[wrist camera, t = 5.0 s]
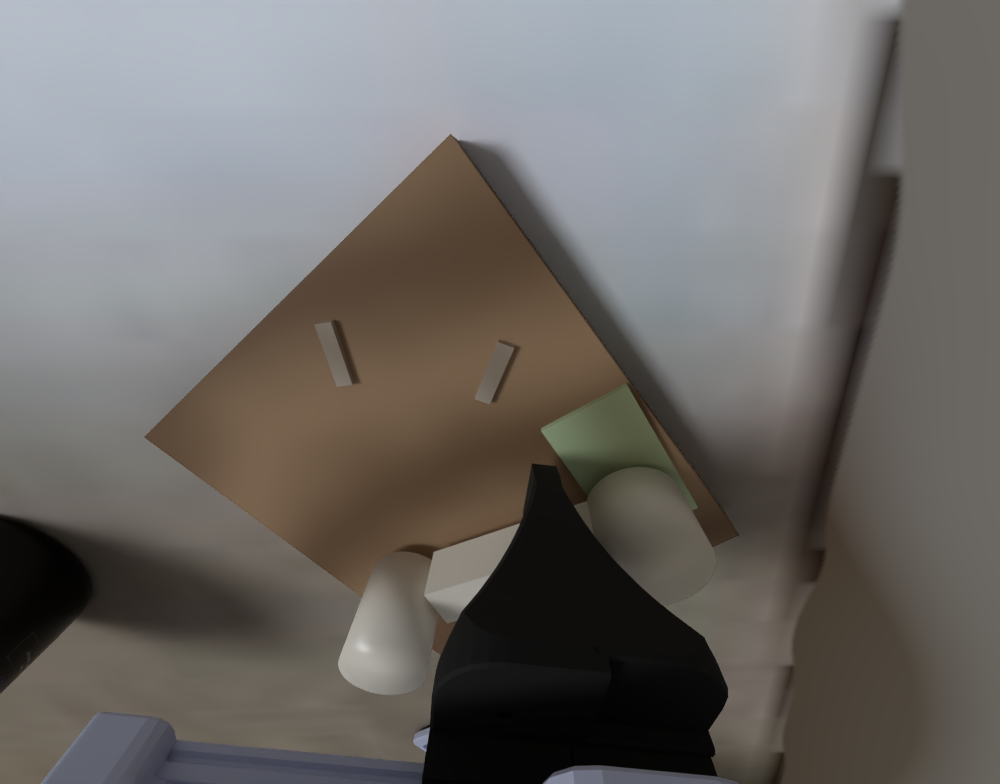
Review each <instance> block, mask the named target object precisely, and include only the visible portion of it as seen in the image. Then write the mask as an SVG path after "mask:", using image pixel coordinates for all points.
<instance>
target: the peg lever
mask: <svg viewBox="0 0 1000 784" xmlns="http://www.w3.org/2000/svg"><path fill="white" fill-rule="evenodd" d="M574 507H575V508H576V510H577V512H578V513H579V515H580V516H581V518H582V519H583V521H584V522H585V524H586V525H587V526H588V528H589V529H590V530H591V532H592V533H593V535H594V536H595V537H596V538H597V540H598V541H599V542H600V544H601V545H602V546H603V547H604V548H605V550H606V551H607V552H608V553H609V554H610V556H611V557H612V558H613V559H614V560H615V561H616V562H617V563H618V564H619V565H620V567H621V568H622V569H623V570H624V571H626V572H627V573H628V574H629V575H630V576H631V577H632V578H633V579H634V580H635V581H636V582H637V583H638V584H639V585H640V586H641V587H642V588H643V589H644V590H645V591H646V592H647V593H649V594H650V595H651V596H652V597H653V598H654V599H656V600H657V601H658V602H659V603H660V604H661V605H668V604H672V603H676V602H679V601H681V600H684V599H686V598H688V597H690V596H692V595H694V594H695V593H697V592H698V591H700V590H701V589H702V588H703V587H704V586H705V585H706V584H707V583H708V582H709V580H710V579H711V577H712V576H713V574H714V571H715V568H716V555H715V552H714V550H713V548H712V546H711V544H710V542H709V540H708V538H707V537H706V535H705V533H704V531H703V529H702V528H701V526H700V524H699V522H698V520H697V518H696V517H695V515H694V513H693V511H692V509H691V508H690V506H689V504H688V502H687V500H686V498H685V497H684V495H683V493H682V491H681V489H680V488H679V486H678V484H677V483H676V481H675V480H674V479H673V478H672V477H670V476H669V475H668V474H666V473H664V472H662V471H660V470H657V469H653V468H648V467H630V468H625V469H621V470H618V471H615V472H613V473H611V474H609V475H607V476H606V477H604V478H603V479H601V480H600V481H599V482H598V483H597V484H596V485H595V486H594V487H593V488H592V490H591V491H590V493H589V495H588V498H587V501H586V502H583V503H580V504H577V505H574ZM519 525H520V523H519V524H516V525H513V526H510V527H507V528H504V529H501V530H498V531H495V532H492V533H489V534H486V535H483V536H480V537H477V538H474V539H471V540H468V541H465V542H462V543H459V544H456V545H453V546H450V547H447V548H444V549H441V550H438V551H435V552H433V557H432V560H431V559H429V558H427V557H425V556H423V555H420V554H417V553H413V552H394V553H390V554H387V555H385V556H383V557H381V558H380V559H379V560H378V561H377V562H376V563H375V565H374V567H373V570H372V572H371V575H370V578H369V580H368V583H367V586H366V588H365V591H364V594H363V596H362V599H361V602H360V604H359V607H358V610H357V612H356V615H355V618H354V620H353V623H352V626H351V628H350V631H349V634H348V636H347V639H346V642H345V644H344V647H343V650H342V652H341V655H340V658H339V661H338V667H339V670H340V672H341V674H342V675H343V677H344V678H345V679H346V680H347V681H349V682H350V683H351V684H353V685H354V686H356V687H358V688H360V689H363V690H365V691H368V692H372V693H376V694H383V695H399V694H405V693H409V692H412V691H414V690H416V689H418V688H419V687H421V686H422V685H423V684H424V682H425V681H426V678H427V674H428V668H429V663H430V657H431V652H432V646H433V641H434V635H435V630H436V624H437V618H438V613H439V614H440V615H441V617H442V618H443V619H444V620H445V622H446V623H451V622H454V621H457V620H458V618H459V616H460V614H461V612H462V610H463V609H464V608H465V607H466V606H467V605H468V603H469V602H470V601H471V600H472V599H473V598H474V596H475V595H476V594H477V593H478V592H479V590H480V589H481V588H482V586H483V585H484V584H485V582H486V581H487V579H488V578H489V577H490V575H491V574H492V572H493V571H494V570H495V568H496V567H497V565H498V564H499V562H500V560H501V559H502V557H503V555H504V554H505V552H506V550H507V549H508V547H509V545H510V543H511V541H512V539H513V537H514V535H515V533H516V531H517V529H518V527H519Z"/></svg>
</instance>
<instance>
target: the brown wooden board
mask: <svg viewBox="0 0 1000 784" xmlns="http://www.w3.org/2000/svg"><path fill="white" fill-rule="evenodd" d="M145 438H146V439H147V440H149V441H150V442H151V443H153V444H154V445H156V446H157V447H158V448H160V449H161V450H162V451H164V452H165V453H166V454H168V455H169V456H171V457H172V458H173V459H175V460H176V461H177V462H179V463H180V464H181V465H183V466H184V467H185V468H187V469H188V470H190V471H191V472H192V473H194V474H195V475H196V476H198V477H199V478H200V479H202V480H203V481H205V482H206V483H207V484H209V485H210V486H211V487H213V488H214V489H215V490H217V491H218V492H220V493H221V494H222V495H224V496H225V497H226V498H228V499H229V500H230V501H232V502H233V503H234V504H236V505H237V506H239V507H240V508H241V509H243V510H244V511H245V512H247V513H248V514H249V515H251V516H252V517H254V518H255V519H256V520H258V521H259V522H260V523H262V524H263V525H264V526H266V527H267V528H268V529H270V530H271V531H273V532H274V533H275V534H277V535H278V536H279V537H281V538H282V539H283V540H285V541H286V542H288V543H289V544H290V545H292V546H293V547H294V548H296V549H297V550H298V551H300V552H301V553H302V554H304V555H305V556H307V557H308V558H309V559H311V560H312V561H313V562H315V563H316V564H317V565H319V566H320V567H322V568H323V569H324V570H326V571H327V572H328V573H330V574H331V575H332V576H334V577H335V578H336V579H338V580H339V581H341V582H342V583H343V584H345V585H346V586H347V587H349V588H350V589H351V590H353V591H354V592H356V593H357V594H358V595H360V596H361V597H362V596H363V594H364V591H365V588H366V586H367V583H368V580H369V578H370V575H371V572H372V570H373V567H374V565H375V563H376V562H377V561H378V560H379V559H380V558H381V557H383V556H385V555H387V554H390V553H394V552H413V553H417V554H420V555H423V556H425V557H427V558H429V559H431V560H432V557H433V552H435V551H438V550H441V549H444V548H447V547H450V546H453V545H456V544H459V543H462V542H465V541H468V540H471V539H474V538H477V537H480V536H483V535H486V534H489V533H492V532H495V531H498V530H501V529H504V528H507V527H510V526H513V525H516V524H519V523H521V520H522V518H523V509H524V504H525V498H526V493H527V487H528V482H529V476H530V471H531V465H532V463H533V464H542V465H551V466H556V467H557V469H558V472H559V475H560V478H561V484H562V487H563V488H564V490H565V492H566V494H567V495H568V497H569V499H570V500H571V502H572V504H573V505H577V504H580V503H583V502H586V501H587V498H588V495H589V493H590V491H591V490H592V488H593V487H594V486H595V485H596V484H597V483H598V482H599V481H600V480H601V479H603V478H604V477H606V476H607V475H609V474H611V473H613V472H615V471H618V470H621V469H625V468H630V467H648V468H653V469H657V470H660V471H662V472H664V473H666V474H668V475H669V476H670V477H672V478H673V479H674V480H675V481H676V483H677V484H678V486H679V488H680V489H681V491H682V493H683V495H684V497H685V498H686V500H687V502H688V504H689V506H690V508H691V509H692V511H693V513H694V515H695V517H696V518H697V520H698V522H699V524H700V526H701V528H702V529H703V531H704V533H705V535H706V537H707V538H708V540H709V542H710V544H711V546H712V547H714V546H716V545H718V544H720V543H723V542H725V541H727V540H729V539H731V538H734V537H736V536H738V535H739V534H738V532H737V531H736V529H735V528H734V526H733V525H732V523H731V521H730V520H729V518H728V517H727V515H726V514H725V512H724V511H723V509H722V508H721V507H720V505H719V504H718V502H717V501H716V500H715V498H714V497H713V495H712V494H711V493H710V491H709V490H708V488H707V487H706V486H705V484H704V483H703V482H702V480H701V479H700V477H699V476H698V475H697V473H696V472H695V470H694V469H693V468H692V466H691V465H690V463H689V462H688V461H687V459H686V458H685V456H684V455H683V454H682V452H681V451H680V449H679V448H678V447H677V445H676V444H675V443H674V441H673V440H672V438H671V437H670V436H669V434H668V433H667V431H666V430H665V429H664V427H663V426H662V424H661V423H660V422H659V420H658V419H657V417H656V416H655V415H654V413H653V412H652V410H651V409H650V408H649V406H648V405H647V404H646V402H645V401H644V399H643V398H642V397H641V395H640V394H639V392H638V391H637V390H636V388H635V387H634V385H633V384H632V383H631V381H630V380H629V378H628V377H627V376H626V374H625V373H624V371H623V370H622V369H621V367H620V366H619V365H618V363H617V362H616V360H615V359H614V358H613V356H612V355H611V353H610V352H609V351H608V349H607V348H606V346H605V345H604V344H603V342H602V341H601V339H600V338H599V337H598V335H597V334H596V332H595V331H594V330H593V328H592V327H591V326H590V324H589V323H588V321H587V320H586V319H585V317H584V316H583V314H582V313H581V312H580V310H579V309H578V307H577V306H576V305H575V303H574V302H573V300H572V299H571V298H570V296H569V295H568V293H567V292H566V291H565V289H564V288H563V287H562V285H561V284H560V282H559V281H558V280H557V278H556V277H555V275H554V274H553V273H552V271H551V270H550V268H549V267H548V266H547V264H546V263H545V261H544V260H543V259H542V257H541V256H540V254H539V253H538V252H537V250H536V249H535V248H534V246H533V245H532V243H531V242H530V241H529V239H528V238H527V236H526V235H525V234H524V232H523V231H522V229H521V228H520V227H519V225H518V224H517V222H516V221H515V220H514V218H513V217H512V215H511V214H510V213H509V211H508V210H507V209H506V207H505V206H504V204H503V203H502V202H501V200H500V199H499V197H498V196H497V195H496V193H495V192H494V190H493V189H492V188H491V186H490V185H489V183H488V182H487V181H486V179H485V178H484V176H483V175H482V174H481V172H480V171H479V170H478V168H477V167H476V165H475V164H474V163H473V161H472V160H471V158H470V157H469V156H468V154H467V153H466V151H465V150H464V149H463V147H462V146H461V144H460V143H459V142H458V140H457V139H456V138H455V137H453V136H452V135H451V134H450V135H449V136H448V137H447V138H446V139H445V140H444V141H443V142H442V143H441V144H440V145H439V146H438V147H437V148H436V149H435V150H434V151H433V152H432V153H431V154H430V155H429V156H428V157H427V158H426V159H425V160H424V161H423V162H422V163H421V164H420V165H419V166H418V167H417V168H416V169H415V170H414V171H413V172H412V173H411V174H410V175H409V176H408V177H407V178H406V179H405V180H404V181H403V182H402V183H401V184H400V185H398V186H397V187H396V188H395V189H394V190H393V191H392V192H391V193H390V194H389V195H388V196H387V197H386V198H385V199H384V200H383V201H382V202H381V203H380V204H379V205H378V206H377V207H376V208H375V209H374V210H373V211H372V212H371V213H370V214H369V215H368V216H367V217H366V218H365V219H364V220H363V221H362V222H361V223H360V224H359V225H358V226H357V227H356V228H355V229H354V230H353V231H352V232H351V233H350V234H349V235H348V236H347V237H346V238H345V239H344V240H343V241H342V242H341V243H340V244H339V245H338V246H337V247H336V248H335V249H334V250H333V251H332V252H331V253H330V254H329V255H328V256H327V257H326V258H325V259H324V260H323V261H322V262H321V263H320V264H319V265H318V266H317V267H316V268H315V269H314V270H313V271H312V272H311V273H310V274H309V275H307V276H306V277H305V278H304V279H303V280H302V281H301V282H300V283H299V284H298V285H297V286H296V287H295V288H294V289H293V290H292V291H291V292H290V293H289V294H288V295H287V296H286V297H285V298H284V299H283V300H282V301H281V302H280V303H279V304H278V305H277V306H276V307H275V308H274V309H273V310H272V311H271V312H270V313H269V314H268V315H267V316H266V317H265V318H264V319H263V320H262V321H261V322H260V323H259V324H258V325H257V326H256V327H255V328H254V329H253V330H252V331H251V332H250V333H249V334H248V335H247V336H246V337H245V338H244V339H243V340H242V341H241V342H240V343H239V344H238V345H237V346H236V347H235V348H234V349H233V350H232V351H231V352H230V353H229V354H228V355H227V356H226V357H225V358H224V359H223V360H222V361H221V362H220V363H219V364H218V365H217V366H215V367H214V368H213V369H212V370H211V371H210V372H209V373H208V374H207V375H206V376H205V377H204V378H203V379H202V380H201V381H200V382H199V383H198V384H197V385H196V386H195V387H194V388H193V389H192V390H191V391H190V392H189V393H188V394H187V395H186V396H185V397H184V398H183V399H182V400H181V401H180V402H179V403H178V404H177V405H176V406H175V407H174V408H173V409H172V410H171V411H170V412H169V413H168V414H167V415H166V416H165V417H164V418H163V419H162V420H161V421H160V422H159V423H158V424H157V425H156V426H155V427H154V428H153V429H152V430H151V431H150V432H149V433H148V434H147V435H146V436H145ZM456 622H457V621H454V622H451V623H446V622H445V620H444V619H443V618H442V617H441V615H440V614H439V613H438V618H437V624H436V630H435V635H434V641H433V646H432V649H433V650H434V651H436V652H437V653H439V654H440V655H441V654H442V651H443V649H444V646H445V644H446V642H447V640H448V638H449V636H450V634H451V632H452V630H453V628H454V626H455V624H456Z"/></svg>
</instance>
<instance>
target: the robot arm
mask: <svg viewBox="0 0 1000 784" xmlns="http://www.w3.org/2000/svg"><path fill="white" fill-rule="evenodd" d="M727 698H728V687H727V685H726V682H725V680H724V678H723V675H722V673H721V671H720V668H719V666H718V664H717V662H716V659H715V657H714V655H713V654H712V652H711V650H710V648H709V646H708V644H707V642H706V640H705V638H704V637H703V636H702V635H700V634H699V633H698V632H696V631H695V630H694V629H692V628H691V627H690V626H688V625H687V624H686V623H684V622H683V621H682V620H680V619H679V618H678V617H676V616H675V615H674V614H672V613H671V612H670V611H669V610H667V609H666V608H665V607H664V606H663V605H661V604H660V603H659V602H658V601H657V600H656V599H654V598H653V597H652V596H651V595H650V594H649V593H647V592H646V591H645V590H644V589H643V588H642V587H641V586H640V585H639V584H638V583H637V582H636V581H635V580H634V579H633V578H632V577H631V576H630V575H629V574H628V573H627V572H626V571H624V570H623V569H622V568H621V567H620V565H619V564H618V563H617V562H616V561H615V560H614V559H613V558H612V557H611V556H610V554H609V553H608V552H607V551H606V550H605V548H604V547H603V546H602V545H601V544H600V542H599V541H598V540H597V538H596V537H595V536H594V535H593V533H592V532H591V530H590V529H589V528H588V526H587V525H586V524H585V522H584V521H583V519H582V518H581V516H580V515H579V513H578V512H577V510H576V508H575V507H574V505H573V504H572V502H571V500H570V499H569V497H568V495H567V494H566V492H565V490H564V488H563V487H562V484H561V478H560V475H559V472H558V469H557V467H556V466H551V465H542V464H533V463H532V465H531V471H530V476H529V482H528V487H527V493H526V498H525V504H524V509H523V518H522V520H521V523H520V525H519V527H518V529H517V531H516V533H515V535H514V537H513V539H512V541H511V543H510V545H509V547H508V549H507V550H506V552H505V554H504V555H503V557H502V559H501V560H500V562H499V564H498V565H497V567H496V568H495V570H494V571H493V572H492V574H491V575H490V577H489V578H488V579H487V581H486V582H485V584H484V585H483V586H482V588H481V589H480V590H479V592H478V593H477V594H476V595H475V596H474V598H473V599H472V600H471V601H470V602H469V603H468V605H467V606H466V607H465V608H464V609H463V610H462V612H461V614H460V616H459V618H458V620H457V622H456V624H455V626H454V628H453V630H452V632H451V634H450V636H449V638H448V640H447V642H446V644H445V646H444V649H443V651H442V654H441V656H440V659H439V662H438V665H437V669H436V674H435V680H434V686H433V693H432V704H431V719H430V727H429V728H426V729H424V730H421V731H419V732H417V733H416V734H415V735H414V741H413V742H414V744H415V745H416V746H418V747H419V748H421V749H423V750H424V751H426V756H425V762H424V763H416V762H405V761H395V760H384V759H374V758H363V757H353V756H342V755H331V754H321V753H310V752H300V751H289V750H279V749H268V748H258V747H247V746H237V745H226V744H215V743H205V742H194V741H184V740H176V736H175V731H174V729H173V727H172V725H171V724H170V723H169V722H167V721H165V720H163V719H161V718H158V717H153V716H145V715H134V714H124V713H113V712H100V713H98V714H96V715H95V716H94V717H93V718H92V719H91V721H90V722H89V723H88V724H87V726H86V727H85V728H84V729H83V731H82V732H81V733H80V735H79V736H78V737H77V738H76V740H75V741H74V742H73V743H72V745H71V746H70V747H69V748H68V750H67V751H66V752H65V753H64V755H63V756H62V757H61V758H60V760H59V761H58V762H57V763H56V765H55V766H54V767H53V768H52V770H51V771H50V772H49V774H48V775H47V776H46V777H45V779H44V780H43V781H42V782H41V784H739V783H738V782H736V781H732V780H728V779H724V778H720V777H717V774H716V771H715V768H714V765H713V762H712V759H711V757H713V756H714V755H715V748H714V745H713V742H712V740H711V737H710V734H709V731H708V730H709V729H710V727H711V726H712V724H713V723H714V721H715V720H716V718H717V717H718V715H719V714H720V712H721V711H722V709H723V707H724V705H725V703H726V701H727Z"/></svg>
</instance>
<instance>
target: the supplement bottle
mask: <svg viewBox="0 0 1000 784" xmlns="http://www.w3.org/2000/svg"><path fill="white" fill-rule="evenodd" d="M90 590H91V588H90V582H89V578H88V576H87V573H86V572H85V570H84V568H83V567H82V565H81V564H80V563H79V562H78V561H77V559H76V558H75V557H74V556H73V555H72V554H71V553H69V552H68V551H67V550H66V549H65V548H63V547H62V546H61V545H59V544H58V543H57V542H55V541H54V540H52V539H50V538H49V537H47V536H45V535H43V534H42V533H39V532H37V531H35V530H33V529H31V528H28V527H26V526H23V525H21V524H18V523H14V522H11V521H7V520H3V519H0V694H1V693H2V692H3V691H4V690H5V689H6V688H7V687H8V686H9V685H10V684H11V683H12V682H13V681H14V680H15V679H16V678H17V677H18V676H19V675H20V674H21V673H22V672H23V671H24V670H25V669H26V668H27V667H28V666H29V665H30V664H31V663H32V662H33V661H34V660H35V659H36V658H37V657H38V656H39V655H40V654H41V653H42V652H43V651H44V650H45V649H46V648H47V647H48V646H49V645H50V644H52V643H53V642H54V641H55V640H56V639H57V638H58V637H59V636H60V635H61V633H62V632H63V631H64V630H65V629H66V628H67V627H68V626H69V625H70V624H71V623H72V622H73V621H74V620H75V619H76V618H77V617H78V616H79V615H80V614H81V613H82V612H83V610H84V609H85V607H86V606H87V604H88V601H89V598H90Z"/></svg>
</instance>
